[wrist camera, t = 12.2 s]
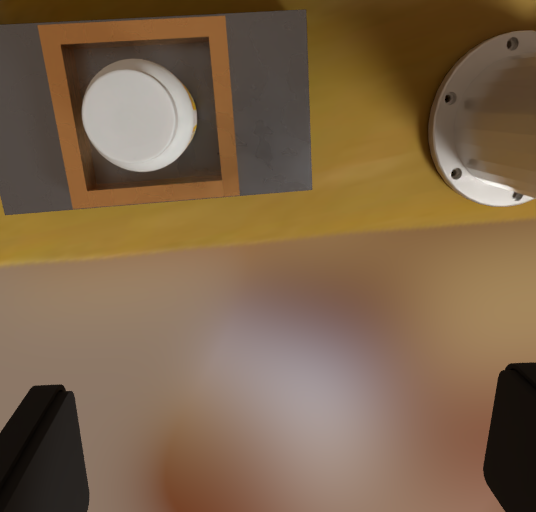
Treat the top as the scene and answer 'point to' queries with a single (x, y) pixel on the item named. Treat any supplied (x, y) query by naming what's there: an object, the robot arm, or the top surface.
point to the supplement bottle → (138, 115)
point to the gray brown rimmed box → (194, 79)
